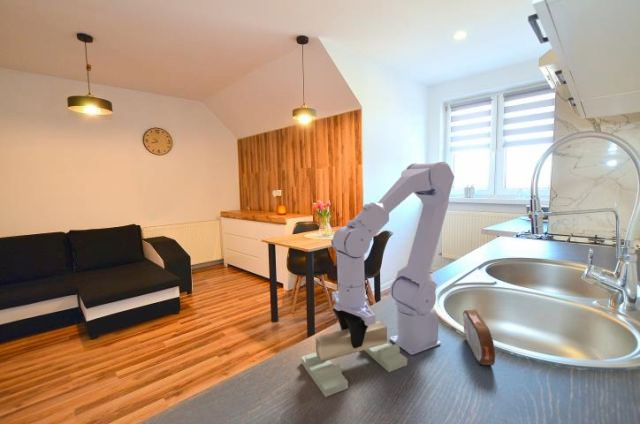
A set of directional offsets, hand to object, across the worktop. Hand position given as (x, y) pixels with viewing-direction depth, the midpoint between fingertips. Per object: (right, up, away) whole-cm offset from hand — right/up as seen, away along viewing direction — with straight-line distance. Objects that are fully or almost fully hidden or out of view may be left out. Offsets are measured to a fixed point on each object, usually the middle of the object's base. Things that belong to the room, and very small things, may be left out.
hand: (352, 342), depth 66 cm
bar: (0, -2, 0) cm, 2 cm away
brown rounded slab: (+29, -4, +3) cm, 29 cm away
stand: (0, -5, +1) cm, 5 cm away
